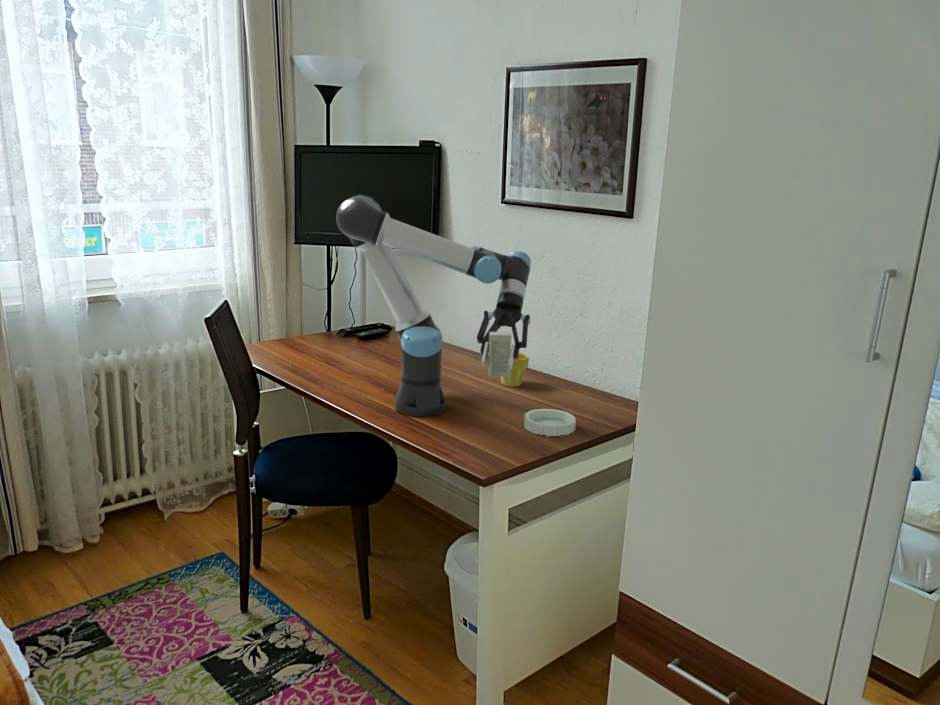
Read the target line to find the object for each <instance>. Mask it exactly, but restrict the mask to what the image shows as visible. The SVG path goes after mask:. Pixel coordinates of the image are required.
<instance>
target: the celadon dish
mask: <svg viewBox="0 0 940 705" xmlns="http://www.w3.org/2000/svg"><path fill="white" fill-rule="evenodd" d="M576 425H577V421H576V417H575V415H573V414H571V413H570V412H567V411H563V410H559V409H551V408H540V409H539V408H538V409H531V410H529V411H528V412H525V413H524V424H523V426H524V427H523V428H524V429H525V430H526V431H528V432H529V431H530V432H529V433H531V432H532V433H531V434H534V433H535V434H534V435H537V434H540V435H539V436H541V435H546V436H545V437H550V436H560V435H566V434H570V433H572V432H573V431H575V432H576ZM573 433H574V432H573ZM573 433H572V434H573ZM570 435H571V434H570ZM560 437H561V436H560Z"/></svg>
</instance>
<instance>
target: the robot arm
mask: <svg viewBox="0 0 940 705" xmlns="http://www.w3.org/2000/svg"><path fill="white" fill-rule="evenodd" d="M335 217H336V218H335V221H336V225H337V227H338V229H339V231H340V232H342V234H343V235H345V236H346V237H347V238H349V240H350V242H351V244H352V246H353V249H355V250H358V251H360V252H362V255H363V257H364V259H365V261H366V263H367V264H368V267H369V268H370V270H371V271H370V272H371V273H372V275H373V277H374V279H375V281H376V283H377V285H378V287H379V289H380V291H381V293H382V295H383V297H384V299H385V301H386V303H387V305H388V308H389V309H390V310H391V313H392V315H393V318H394V319H395V321H396V326H395V329H394V330H395V332H396V334H397V336H398V338H399V340H400V345H401V359H400V360H401V363H400V364H401V365H400V366H401V367H400V368H401V369H400V370H401V371H400V374H401V376H400V384H399V387H398V390H397V393H396V397H395V399H394V410H395V411H396V412H397V413H399V412H400V413H399V414H402V413H403V415H405V414H406V415H405V416H412V417H433V416H437V415H439V414H442V413H444V412H446V409H447V401H446V396H445V393H444V390H443V387H442V360H443V359H442V358H443V357H442V354H443V352H442V351H443V344H444V342H443V335H442V334H443V333H442V332H441V330H440V328H439V327H438V326H437V325H436V324H435V322H434V320H433V318H432V315H431V313H430V312H428V311H426V310H423V308H422V306H421V305H420V302H419V300H418V298H417V296H416V294H415V291H414V290H413V288H412V286H411V283H410V282H409V279H408V277H407V275H406V273H405V271H404V269H403V267H402V266H401V263H400V261H399V259H398V257H397V255H396V253H395V251H394V249H395V250H397V251H400V252H403V253H406V254H408V255H410V256H411V255H412V256H413V257H414V256H415V257H417V258H418V259H419V258H420V259H422V260H425V261H428V262H430V263H434V264H437V265H439V266H442V267H445V268H447V269H450V270H452V271H456V272H457V273H458V272H459V273H462V274H465V275H467V276H469V277H472V278H475V279H476V280H478V281H479V282H481V283H483V284H485V285H486V284H489V285H490V284H493V283H495V282H496V281H497V280H500V281H501V284H500V288H499V293H498V297H497V301H496V306H495V309H494V310H493V311H488V310H484V311H483V319H482V322H481V324H480V327H479V330H478V331H477V332H478V333H477V336H476V340H477V343H478V344H481V346H480V355H482V357H481V366H482V367H486V364H487V362H488V357H489V332H498V330H500V328H501V327H508V328H511V332H512V335H513V336H512V337H513V340H514V341H513V342H514V344H512V343H511V353H510V358H509V363H508V366H509V369H512V366H513V361H514V358H518V354H519V353H520V349H526V348H527V346H528V330H529V325H530V322H531V317H530V314H526V315H524V314H523V313H522V309H523V305H524V300H525V297H526V290H527V285H528V281H529V276H530V272H531V266H532V265H531V264H532V259H531V257H530V256H529V254H528V253H526V252H525V251H521V250H519V251H516V250H514V251H511V252H510V253H508V254H507V255H505V254H503V253H502V254H501V253H498V252H495V251H492V250H489V249H487V248H484V247H482V246H477V245H472V246H470V247H469V246H466V245H464V244H462V243H459V242H456V241H453V240H451V239H449V238H445V237H443V236H439V235H437V234H434V233H432V232H429V231H427V230H423V229H421V228H418V227H416V226H412V225H410V224H408V223H405V222H402V221H400V220H397V219H395V218H391V217H390V214H389V213H388V212H386V211H383V210H382V207H381V206H380V204H379V203H378V202H377V201H376V200H375V199H374V198H372V197H371V196H368V195H366V194H365V195H364V194H358V195H354V196H351V197H349V198H347V199H345V200H344V201H342V202H341V204H340V205H339V206H338V208H337V210H336V216H335ZM492 318H494V321H493V323H492V325H491V326H490V328H489V329H488V326H489V324H490V321H491V320H492ZM520 320H521V323H522V333H521V334H522V336H521V341H520V339H519V336H518V335H519V334H518V330H517V327H516V326H517V325H516V324H517V323H518V322H520ZM487 329H488V331H487ZM486 331H487V332H486Z"/></svg>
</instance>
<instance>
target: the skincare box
mask: <svg viewBox="0 0 940 705" xmlns="http://www.w3.org/2000/svg"><path fill="white" fill-rule="evenodd" d="M511 348H512V333H511V332H510V331H497V332H489V352H488V356H487V364H488V365H487V366H488V367H487V368H488V369H487V374H488V377H500V376H505V377H506V376H510V369H509V366H508V363H509V358H510V353H511Z"/></svg>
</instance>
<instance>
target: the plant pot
mask: <svg viewBox="0 0 940 705" xmlns="http://www.w3.org/2000/svg"><path fill="white" fill-rule="evenodd" d="M529 360H530V358H529V355H528V354H526V353H523V352H519V354H518V358H514V361H513V366H512V369H510V376H506V377H505V376H499V377H500V382H501V384H502V385H503V386H505V387H513V388H514V387H519V386H521V385H522V382H523V379H524V377H525V376H524V375H525V372H526V368H528V367H529Z"/></svg>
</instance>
